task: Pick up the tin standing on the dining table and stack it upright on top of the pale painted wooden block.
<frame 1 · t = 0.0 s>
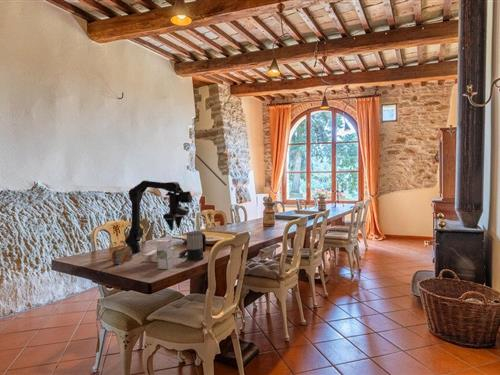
hand: (175, 229, 208), 15 cm above the table, tool pointing down, fingers open, 9 cm apart
tin: (122, 263, 190), on the table
pale block: (160, 258, 200), on the table
milk frother: (191, 258, 196), on the table
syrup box: (165, 268, 176), on the table
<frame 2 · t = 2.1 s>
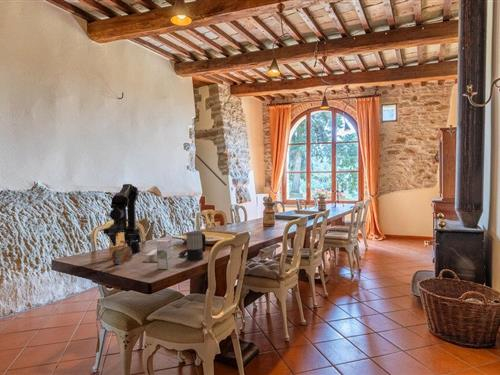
hand: (122, 246, 190), 9 cm above the table, tool pointing down, fingers open, 9 cm apart
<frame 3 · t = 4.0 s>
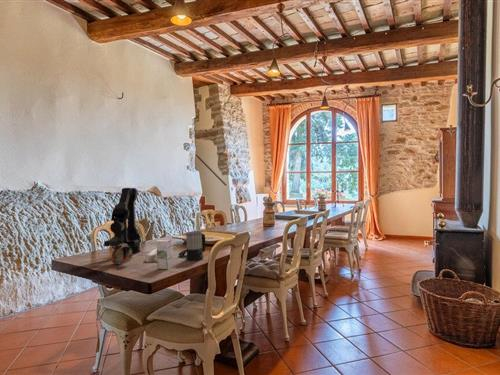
hand: (122, 258, 190), 2 cm above the table, tool pointing down, fingers closed on tin, 3 cm apart
tin: (122, 262, 190), on the table, touching gripper
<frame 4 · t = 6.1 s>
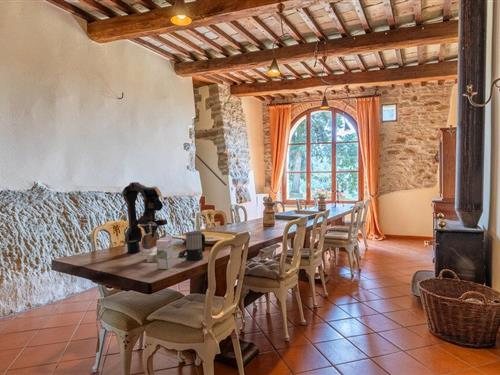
hand: (150, 237, 197), 12 cm above the table, tool pointing down, fingers closed on tin, 3 cm apart
tin: (150, 247, 198), point 6 cm above the table, touching gripper
when the fingers open (8 cm above the table, at t = 7.5 s): tin stays where it is, resting on pale block.
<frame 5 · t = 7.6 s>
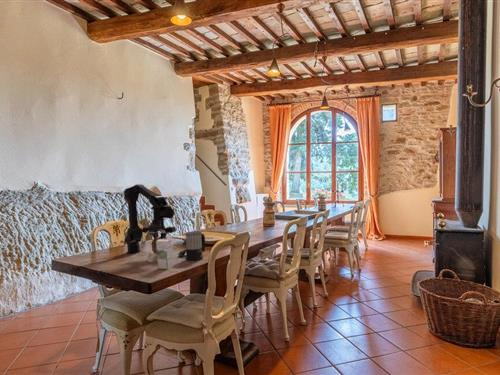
hand: (159, 244, 200), 7 cm above the table, tool pointing down, fingers open, 3 cm apart
tin: (159, 251, 200), point 3 cm above the table, touching pale block
pale block: (160, 258, 200), on the table, touching tin
everything else where it was.
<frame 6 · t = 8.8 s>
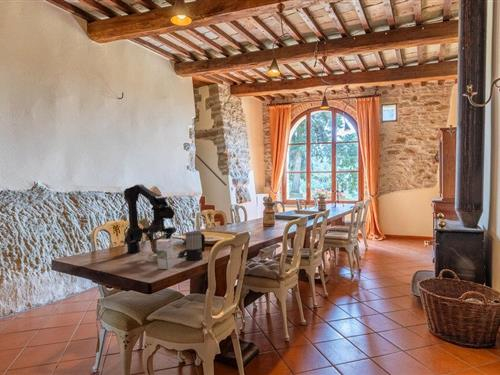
hand: (159, 245, 200), 7 cm above the table, tool pointing down, fingers open, 9 cm apart
nothing on the table moved.
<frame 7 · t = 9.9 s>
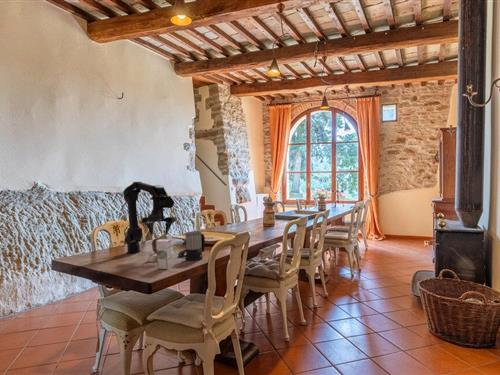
hand: (159, 234, 200), 13 cm above the table, tool pointing down, fingers open, 9 cm apart
tin: (160, 251, 200), point 3 cm above the table
pale block: (161, 258, 200), on the table
everything else where it was.
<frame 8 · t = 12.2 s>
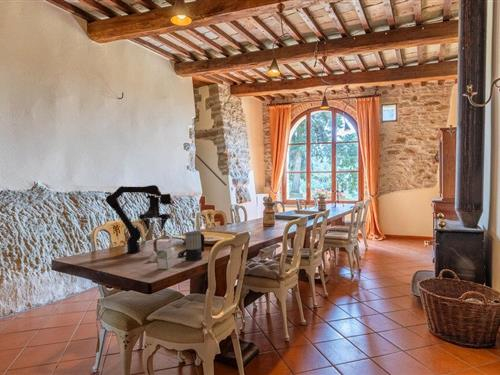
hand: (155, 230, 218), 13 cm above the table, tool pointing down, fingers open, 9 cm apart
tin: (162, 251, 200), point 3 cm above the table, touching pale block
pale block: (163, 258, 200), on the table, touching tin
everything else where it was.
at the end: tin inside the target area on the pale block (0.5 cm from its centre), point 3.8 cm above the pale block's base; tin tilted 0°; the gripper is holding nothing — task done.
